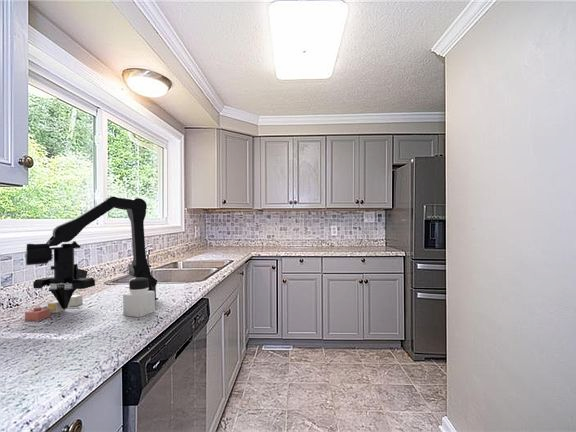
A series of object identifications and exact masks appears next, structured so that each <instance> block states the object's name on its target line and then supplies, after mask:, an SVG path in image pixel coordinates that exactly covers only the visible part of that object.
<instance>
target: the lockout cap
mask: <svg viewBox="0 0 576 432" xmlns="http://www.w3.org/2000/svg"><path fill="white" fill-rule="evenodd" d="M49 317H51V312H50V309H47V308H43V307H41V306H37V307H33V309H31V310H28V311H25V312H24V321H35V322H36V321H37V322H38V321H41V320H44V319H46V318H49Z"/></svg>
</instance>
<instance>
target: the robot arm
mask: <svg viewBox="0 0 576 432" xmlns="http://www.w3.org/2000/svg"><path fill="white" fill-rule="evenodd" d="M147 205H148V204H147V202H146V201H145V200H144V199H143V198H140V197H138V198H137V197H136V198H123V197H116V196H114V195H113V196H108V197H107V198H106V199H105V200H103V201H102V202H100V203H98V204H97V205H95V206H93V207H92V208H90V209H89V210H86V211H85V212H84V213H83V214H81V215H80V216H78V217H76V218H73V219H71V220H69V221H67V222H64V223H61V224H60V225H57V226H56V227H55V228H53V230H52V235H51V237H50V238H49V239H48V240H47V241H46V243H26V247H25V248H26V249H25V250H26V251H25V265H26V266H34V265H35V266H36V265H47V264H48V263H49V262H50V261H52V260H53V265H52V266H50V270H53V277H42V278H38V279H37V278H36V279H35V280H34V281H33V285H32V286H33V289H38V290H39V289H42V288H44V287H45V286H47V287H50V289H48V292H51V294H52V295H53V297H54V298H55V300H57V301H58V302H59V304H60V305H61V307H62V309H65V310H67V309H68V308H67V307H69V306H68V304H69V302H70V299H71V296H72V295H74V293H75V292H76V290H85V289H88V288H91V287H95V286H96V280H95V278H94V277H88V273H89V270H85V269H81V268H79V266H78V264H77V263H75V249H80V248H81V247H82V246H81V245H79V244H78V243H77V241H75V240H74V239H75V237H77V236H78V235H79V234H80V233H81V232H82V231H83V229H85V228H86V227H87V226H89V225H90V224H92V223H93V222H95V221H97V220H98V219H99V218H100V217H102V216H104V215H105V214H106V213H108V212H110V211H111V210H113V209H118V210H119V209H120V210H125V211H126V214H127V216H128V219H129V221H130V227H131V241H132V242H131V243H132V263H128V264H127V266H128V274H127V275H129V276H130V278H131V279H133V278H140V277H144V278H148V280H149V289H148V291H154V292H155V302H156V301H158V300H159V297H157V293H156V292H157V284H158V280H157V279H156V278H155V277H154V276H152V272H151V269H150V265H149V262H148V260H147V255H146V240H145V226H144V224H145V223H144V221H145V218H146V215H147ZM72 240H73V241H72ZM71 241H72V242H71ZM69 242H71V243H69ZM59 245H61V246H59ZM131 279H130V280H131Z"/></svg>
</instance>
